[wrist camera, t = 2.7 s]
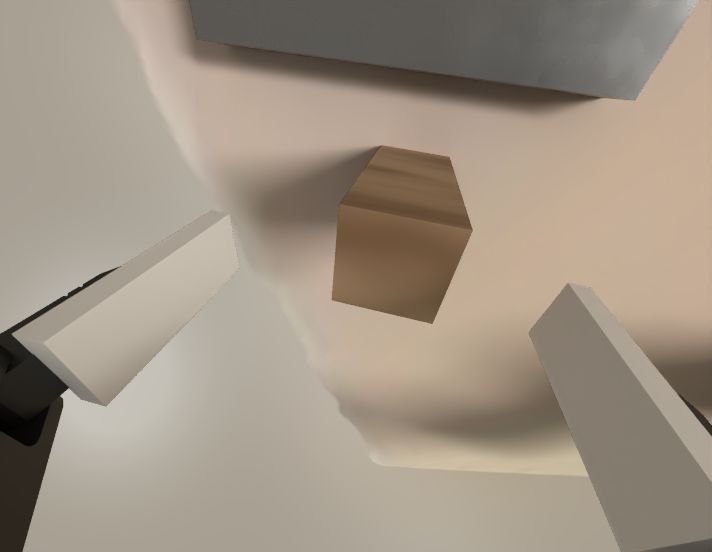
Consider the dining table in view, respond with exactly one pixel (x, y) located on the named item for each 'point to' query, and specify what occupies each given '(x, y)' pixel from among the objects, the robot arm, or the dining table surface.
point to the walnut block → (400, 235)
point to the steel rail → (465, 37)
